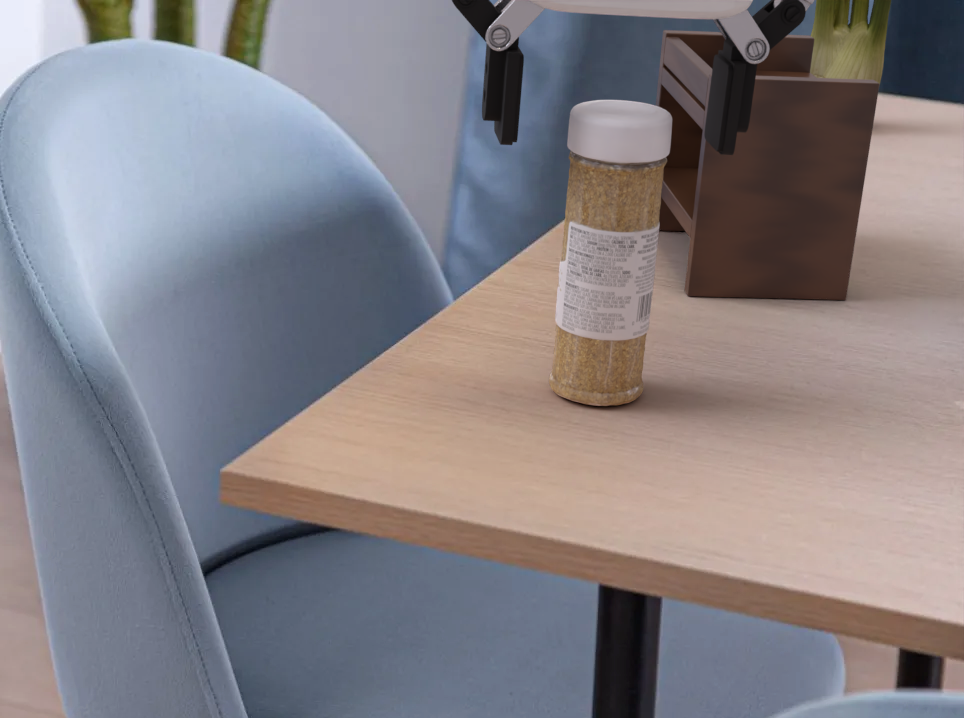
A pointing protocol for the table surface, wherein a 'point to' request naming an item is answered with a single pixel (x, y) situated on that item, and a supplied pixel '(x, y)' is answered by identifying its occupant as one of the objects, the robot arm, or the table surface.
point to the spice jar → (609, 249)
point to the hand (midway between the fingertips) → (612, 143)
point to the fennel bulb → (849, 39)
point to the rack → (765, 173)
